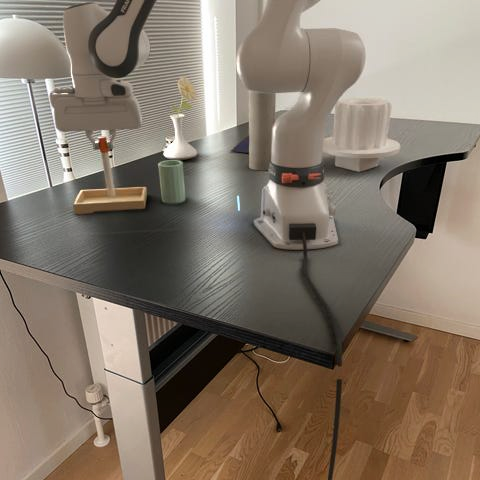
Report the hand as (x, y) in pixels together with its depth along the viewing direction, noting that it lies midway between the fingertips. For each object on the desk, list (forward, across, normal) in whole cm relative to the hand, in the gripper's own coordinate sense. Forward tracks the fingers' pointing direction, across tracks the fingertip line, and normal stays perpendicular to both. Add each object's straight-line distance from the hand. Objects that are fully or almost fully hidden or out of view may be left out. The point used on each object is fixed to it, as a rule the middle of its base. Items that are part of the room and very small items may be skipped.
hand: (104, 149), depth 117 cm
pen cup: (+14, +16, 0) cm, 21 cm away
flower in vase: (+14, +19, +45) cm, 51 cm away
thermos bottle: (+14, +44, +29) cm, 54 cm away
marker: (+12, 0, 0) cm, 12 cm away
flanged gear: (+14, +74, +25) cm, 79 cm away
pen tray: (+14, 0, 0) cm, 14 cm away
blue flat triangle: (+14, +54, +56) cm, 79 cm away
